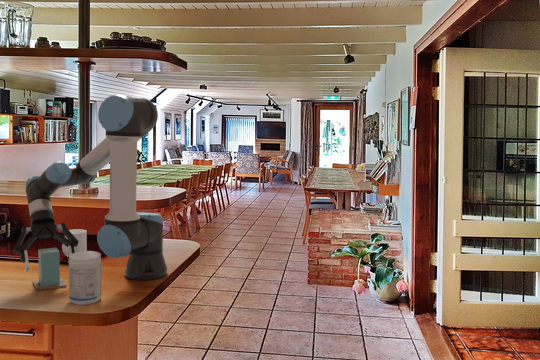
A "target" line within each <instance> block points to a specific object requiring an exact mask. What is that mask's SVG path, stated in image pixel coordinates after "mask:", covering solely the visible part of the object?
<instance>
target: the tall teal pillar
mask: <svg viewBox="0 0 540 360" xmlns="http://www.w3.org/2000/svg"><path fill="white" fill-rule="evenodd" d="M37 251H38V254H37V255H38V260H37V261H38V281H39V283H40V285H41V286H42V287H44V286H51V285H57V284H60V277H61V275H60V273H61V271H60V270H61V269H60V268H61V267H60V261H61V260H60V251H59V249H58V248H57V247H49V248H40V249H38V250H37Z"/></svg>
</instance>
